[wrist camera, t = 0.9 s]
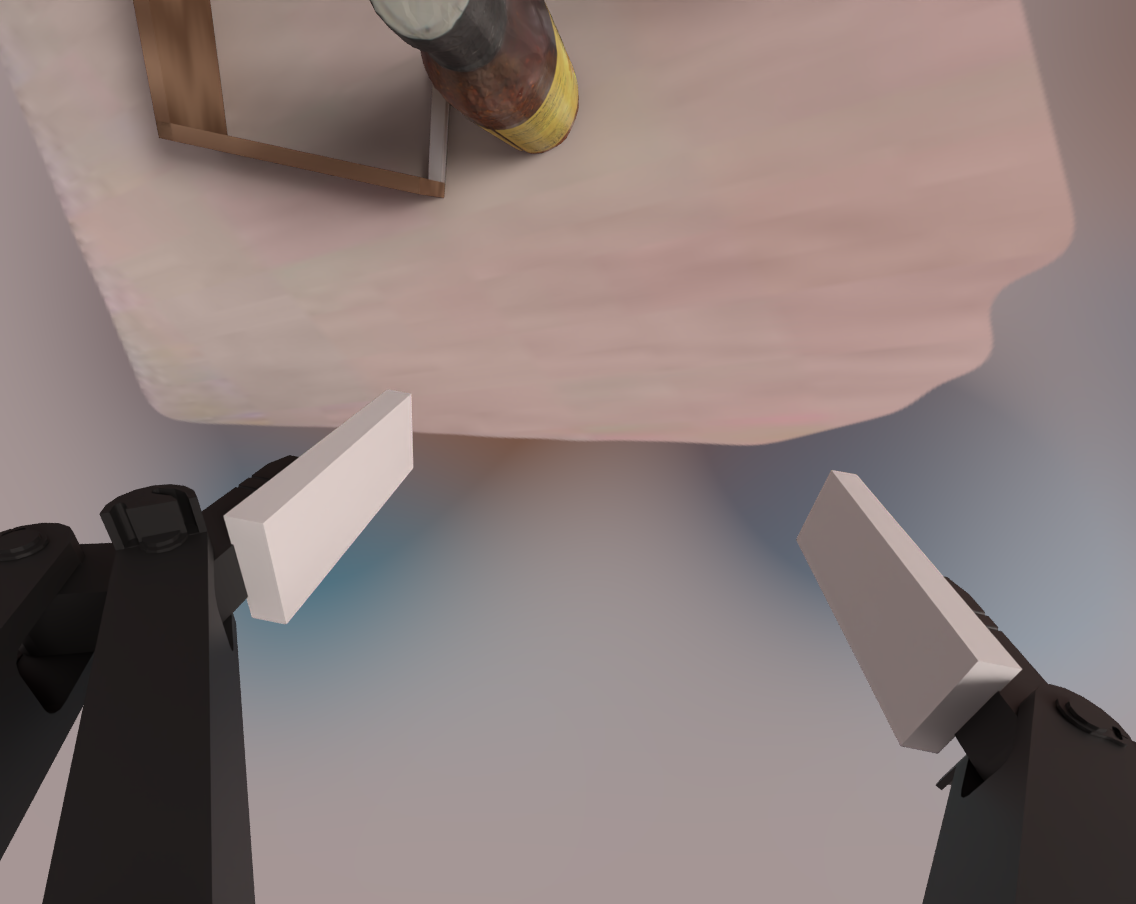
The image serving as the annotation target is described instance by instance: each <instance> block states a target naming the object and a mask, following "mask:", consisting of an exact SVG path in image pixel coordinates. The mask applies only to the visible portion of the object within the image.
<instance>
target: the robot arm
mask: <svg viewBox="0 0 1136 904" xmlns="http://www.w3.org/2000/svg"><path fill="white" fill-rule="evenodd" d="M412 469H413V445H412V402H411V393H405V392H400V391H394V390H389V389H387V390H386V391H385V392H383V393H382V394H381V395H379V396H378V397H377V398H375V399H374V400H373V401H372V402H370V403H369V404H368V405H366V406H365V407H364V408H363V409H361V410H360V411H359V412H357V413H356V414H355V415H353V416H352V417H351V418H350V419H348V420H347V421H346V422H344V423H343V424H342V425H340V426H339V427H338V428H337V429H335V430H334V431H333V432H331V433H330V434H329V435H327V436H326V437H325V438H324V439H322V440H321V441H320V442H318V443H317V444H316V445H315V446H313V447H312V448H311V449H309V450H308V451H307V452H305V453H304V454H303V455H302V456H300V457H296V456H291V455H289V456H286V457H284V458H281V459H279V460H276V461H274V462H271V463H269V464H267V465H266V466H264V467H263V468H262V469H260V470H259V471H257V472H256V473H255V474H253V475H252V478H248V479H246V480H245V481H244V482H242V483H241V484H239V487H238V488H237V487H235V488H234V489H232V490H231V491H230V492H228V493H227V494H225V495H224V496H223V497H221V498H220V499H218V500H217V501H216V502H214V503H213V504H212V505H210V506H209V507H207V508H206V509H205V510H203V511H202V512H201V509H200V505H199V502H198V499H197V496H196V494H195V492H194V491H193V490H192V489H190V488H188V487H186V486H180V485H172V484H168V485H155V486H149V487H146V488H141V489H137V490H133V491H131V492H129V493H126V494H124V495H121V496H119V497H117V498H116V499H114V500H113V501H111V502H110V503H108V504H107V505H106V506H105V507H104V508H103V510H102V511H101V513H100V516H101V519H102V521H103V523H104V525H105V527H106V530H107V532H108V534H109V536H110V539H111V541H112V543H99V544H79V543H78V541H77V539H76V537H75V535H74V533H73V531H72V530H71V528H70V527H69V526H66V525H62V524H59V523H38V524H32V525H25V526H20V527H16V528H14V529H9V530H6V531H3V532H0V860H1V858H2V856H3V854H4V853H5V851H6V849H7V847H8V845H9V843H10V841H11V840H12V838H13V836H14V834H15V832H16V830H17V828H18V827H19V825H20V823H21V821H22V819H23V817H24V815H25V813H26V811H27V810H28V808H29V806H30V804H31V802H32V800H33V799H34V797H35V795H36V793H37V791H38V789H39V787H40V785H41V783H42V782H43V780H44V778H45V776H46V774H47V772H48V770H49V768H50V767H51V765H52V763H53V761H54V759H55V757H56V756H57V754H58V752H59V750H60V748H61V746H62V744H63V742H64V741H65V739H66V737H67V735H68V733H69V731H70V729H71V727H72V726H73V724H74V722H75V720H76V718H77V716H78V714H79V713H80V711H81V709H82V707H83V711H82V715H81V720H80V725H79V730H78V735H77V740H76V744H75V749H74V754H73V759H72V763H71V768H70V773H69V778H68V783H67V787H66V792H65V797H64V802H63V807H62V812H61V816H60V821H59V826H58V831H57V836H56V841H55V845H54V850H53V855H52V859H51V864H50V869H49V874H48V879H47V884H46V888H45V894H44V898H43V903H42V904H255V895H254V881H253V865H252V852H251V836H250V822H249V808H248V792H247V778H246V764H245V748H244V735H243V719H242V704H241V690H240V675H239V660H238V646H237V632H236V621H235V618H234V615H233V612H234V611H235V610H236V609H237V608H238V607H239V605H241V603H243V602H244V601H245V599H246V598H247V601H248V605H249V608H250V612H251V615H252V618H257V619H262V620H267V621H273V622H277V623H282V624H287V623H288V622H289V621H290V619H291V618H292V617H293V616H294V614H295V613H296V612H297V611H298V609H299V608H300V607H301V606H302V604H303V603H304V602H305V601H306V599H307V598H308V597H309V596H310V595H311V593H312V592H313V591H314V590H315V588H316V587H317V586H318V585H319V584H320V582H321V581H322V580H323V579H324V577H325V576H326V575H327V574H328V572H329V571H330V570H331V569H332V568H333V566H334V565H335V564H336V563H337V561H338V560H339V559H340V558H341V556H342V555H343V554H344V553H345V552H346V550H347V549H348V547H350V545H351V544H352V543H353V542H354V540H355V539H356V538H357V537H358V536H359V534H360V533H361V532H362V531H363V529H364V528H365V527H366V526H367V524H368V523H369V522H370V521H371V519H372V518H373V517H374V516H375V515H376V513H377V512H378V511H379V510H380V508H381V507H382V506H383V505H384V503H385V502H386V501H387V500H388V499H389V497H390V496H391V495H392V493H393V492H394V491H395V490H396V488H397V487H398V486H399V485H400V484H401V482H402V481H403V480H404V479H405V478H406V476H407V475H408V474H409V472H410V471H411V470H412ZM796 540H797V542H798V544H799V546H800V548H801V550H802V552H803V554H804V556H805V558H806V560H807V562H808V564H809V566H810V568H811V570H812V572H813V574H814V576H815V578H816V580H817V582H818V584H819V586H820V588H821V590H822V592H823V594H824V596H825V598H826V600H827V602H828V604H829V606H830V608H831V609H832V612H833V613H834V615H835V617H836V619H837V621H838V623H839V625H840V627H841V629H842V631H843V633H844V635H845V637H846V639H847V641H848V643H849V645H850V647H851V649H852V651H853V653H854V655H855V657H856V659H857V661H858V663H859V665H860V667H861V669H862V671H863V673H864V674H865V677H866V679H867V681H868V683H869V685H870V687H871V688H872V691H873V693H874V695H875V696H876V698H877V700H878V702H879V704H880V706H881V708H882V710H883V712H884V714H885V716H886V718H887V720H888V722H889V724H890V726H891V728H892V730H893V732H894V734H895V736H896V738H897V740H898V742H899V744H900V746H903V747H907V748H912V749H917V750H922V751H927V752H932V753H939V752H940V751H941V750H942V749H943V748H944V747H945V746H946V745H947V744H948V743H949V742H950V741H951V740H952V739H953V738H954V737H955V736H956V738H957V740H958V741H959V743H960V745H961V746H962V748H963V749H964V751H965V753H966V756H964V757H963V758H962V759H961V760H960V761H959V762H958V763H957V764H956V765H955V766H954V767H953V768H952V769H951V770H950V771H949V772H947V773H946V774H945V775H944V776H943V777H942V778H941V779H940V780H939V782H938V783H937V784H936V786H937V787H938V788H940V789H941V790H942V789H944V788H945V787H946V786H947V785H951V789H950V793H949V797H948V801H947V806H946V810H945V814H944V818H943V822H942V826H941V830H940V834H939V839H938V842H937V847H936V850H935V855H934V859H933V863H932V867H931V871H930V875H929V879H928V883H927V887H926V891H925V896H924V899H923V904H1136V742H1134V741H1132V740H1131V738H1130V736H1129V735H1128V734H1127V733H1126V732H1125V731H1124V729H1123V728H1122V727H1121V726H1120V725H1119V724H1118V723H1117V722H1116V721H1115V720H1114V719H1113V718H1111V717H1110V716H1109V715H1108V714H1107V713H1106V712H1104V711H1103V710H1102V709H1101V708H1099V707H1098V706H1096V705H1095V704H1093V703H1091V702H1090V701H1089V700H1087V699H1085V698H1084V697H1082V696H1080V695H1078V694H1076V693H1074V692H1072V691H1070V690H1067V689H1066V688H1062V687H1058V686H1055V685H1051V684H1048V683H1047V682H1046V681H1045V680H1044V679H1043V678H1042V677H1041V676H1040V674H1039V673H1038V672H1037V671H1036V670H1035V669H1034V668H1033V667H1032V665H1031V664H1030V663H1029V662H1028V661H1027V660H1026V658H1025V657H1024V656H1023V655H1022V654H1021V653H1020V652H1019V650H1018V649H1017V648H1016V647H1015V646H1014V645H1013V644H1012V643H1011V641H1010V640H1009V639H1008V638H1007V637H1006V636H1005V635H1004V633H1003V632H1002V631H998V627H997V625H996V624H995V623H994V622H993V621H992V620H991V619H990V618H989V616H985V612H984V611H983V610H982V608H981V607H980V606H979V605H978V604H977V603H976V602H975V600H974V599H973V598H972V597H971V596H970V595H969V594H968V593H967V592H966V591H964V590H963V589H962V588H960V587H959V586H958V585H956V584H955V583H954V582H953V581H951V580H950V579H949V578H947V577H943V576H942V574H941V573H940V572H939V571H938V570H937V569H936V567H935V566H934V565H933V564H932V563H931V561H930V560H929V559H928V558H927V557H926V556H925V555H924V553H923V552H922V551H921V550H920V549H919V547H918V546H917V545H916V544H915V543H914V542H913V540H912V539H911V538H910V537H909V536H908V535H907V533H906V532H905V531H904V530H903V529H902V527H901V526H900V525H899V524H898V523H897V522H896V520H895V519H894V518H893V517H892V516H891V515H890V513H889V512H888V511H887V510H886V509H885V507H884V506H883V505H882V504H881V503H880V502H879V500H878V499H877V498H876V497H875V496H874V495H873V493H872V492H871V491H870V490H869V489H868V488H867V486H866V485H865V484H864V483H863V482H862V480H861V479H860V478H859V477H858V476H857V475H856V474H851V473H845V472H840V471H834V470H831V472H830V474H829V476H828V478H827V480H826V482H825V484H824V486H823V488H822V490H821V491H820V493H819V496H818V497H817V499H816V501H815V504H814V505H813V507H812V510H811V511H810V513H809V515H808V517H807V519H806V521H805V523H804V525H803V527H802V529H801V531H800V533H799V535H798V537H797V539H796ZM83 705H84V706H83Z"/></svg>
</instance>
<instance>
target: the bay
mask: <svg viewBox="0 0 1136 904" xmlns="http://www.w3.org/2000/svg"><path fill="white" fill-rule="evenodd" d="M133 3H134V8H135V13H136V18H137V24H138V29H139V34H140V40H141V45H142V50H143V56H144V61H145V66H146V71H147V77H148V82H149V87H150V93H151V98H152V103H153V108H154V114H155V119H156V124H157V130H158V135H159V138H162V139H167V140H172V141H176V142H181V143H185V144H190V145H195V146H199V147H204V148H209V149H213V150H218V151H222V152H227V153H232V154H236V155H241V156H245V157H250V158H255V159H259V160H264V161H268V162H273V163H278V164H282V165H287V166H292V167H296V168H301V169H305V170H310V171H315V172H319V173H324V174H328V175H333V176H338V177H342V178H347V179H352V180H356V181H361V182H365V183H370V184H375V185H379V186H384V187H388V188H393V189H398V190H402V191H407V192H412V193H416V194H422V195H429V196H436V197H443V198H444V192H445V174H446V156H447V139H448V121H449V103H448V102H447V101H446V100H445V99H444V98H443V96H442V95H441V94H440V92H439V91H438V90H437V89H435V88H434V86H433V83H432V102H431V126H430V151H429V175H428V179H425V178H421V177H416V176H412V175H407V174H403V173H398V172H393V171H389V170H384V169H380V168H375V167H370V166H366V165H361V164H356V163H352V162H347V161H343V160H338V159H333V158H329V157H324V156H320V155H315V154H310V153H306V152H301V151H296V150H292V149H287V148H283V147H278V146H273V145H269V144H264V143H260V142H255V141H250V140H246V139H241V138H236V137H232V136H228V135H227V128H226V120H225V112H224V105H223V97H222V89H221V82H220V74H219V66H218V59H217V51H216V43H215V36H214V28H213V20H212V13H211V5H210V0H133Z"/></svg>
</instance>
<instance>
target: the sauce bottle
mask: <svg viewBox="0 0 1136 904" xmlns="http://www.w3.org/2000/svg"><path fill="white" fill-rule="evenodd" d="M370 2H371V4H372V6H373V8H374V10H375V12H376V13H377V14H378V15H379V17H380V18H381V19H382V20H383V21H384V22H385V24H386V25H387V26H388V27H389V28H390V29H391V30H392V31H393V32H395V33H396V34H397V35H398V36H399V37H400V38H401V39H402V40H403V41H405V42H406V43H407V44H409V45H411V46H412V47H414V48H417V49H419V50H420V51H421V56H422V59H423V64H424V66H425V69H426V71H427V73H428V75H429V78H430V80H431V81H432V83H433V86H434V88H435V89H437V90H438V91H439V92H440V94H441V95H442V96H443V98H444V99H445V100H446V101H447V102H448V103H450V104H451V105H452V106H453V107H454V108H456V109H457V110H458V111H460V112H461V113H462V114H463V115H464V116H465V117H466V118H468V119H469V120H470V121H472V122H473V123H475V124H476V125H478V126H480V127H481V128H483V129H484V130H486V131H488V132H489V133H491V134H493V135H494V136H496V137H498V138H499V139H501V140H503V141H504V142H506V143H507V144H509V145H511V146H512V147H514V148H516V149H518V150H520V151H523V150H525V151H526V152H528V153H543V152H546V151H549V150H550V149H552V148H554V147H556V146H558V145H559V144H561V143H562V142H563V141H564V140H565V139H566V138H567V136H568V134H569V132H570V130H571V128H572V126H573V124H574V121H575V119H576V116H577V112H578V107H579V104H578V100H579V96H578V85H577V80H576V76H575V72H574V69H573V66H572V64H571V62H570V59H569V57H568V55H567V52H566V50H565V48H564V45H563V42H562V39H561V37H560V35H559V34H558V30H557V28H556V26H555V25H554V21H553V19H552V16H551V14H550V12H549V10H548V8H547V6H546V3H545V1H544V0H370Z"/></svg>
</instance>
